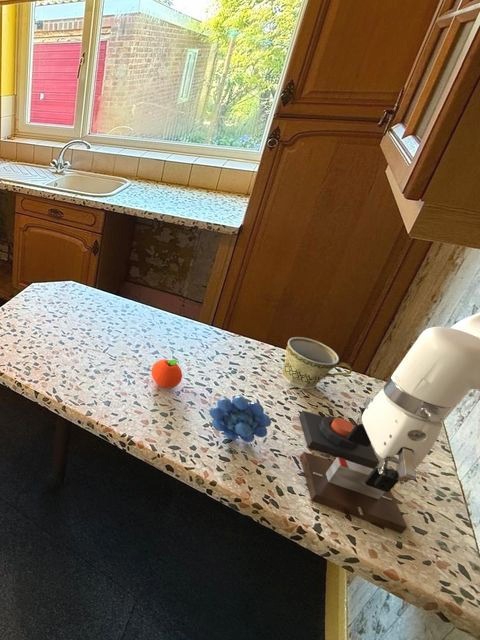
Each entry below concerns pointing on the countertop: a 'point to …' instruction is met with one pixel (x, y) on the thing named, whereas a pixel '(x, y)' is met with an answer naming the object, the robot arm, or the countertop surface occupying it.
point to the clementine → (166, 373)
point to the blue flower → (240, 419)
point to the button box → (334, 441)
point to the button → (342, 426)
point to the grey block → (352, 477)
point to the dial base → (349, 496)
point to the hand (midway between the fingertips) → (365, 463)
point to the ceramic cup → (309, 362)
